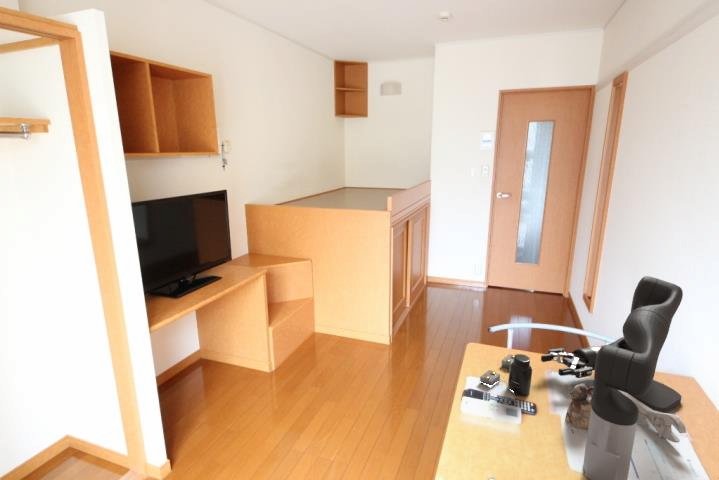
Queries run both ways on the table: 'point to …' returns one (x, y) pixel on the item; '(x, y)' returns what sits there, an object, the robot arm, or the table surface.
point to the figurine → (580, 407)
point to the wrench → (660, 420)
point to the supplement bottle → (520, 375)
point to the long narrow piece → (492, 376)
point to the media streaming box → (660, 397)
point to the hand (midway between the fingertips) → (550, 365)
